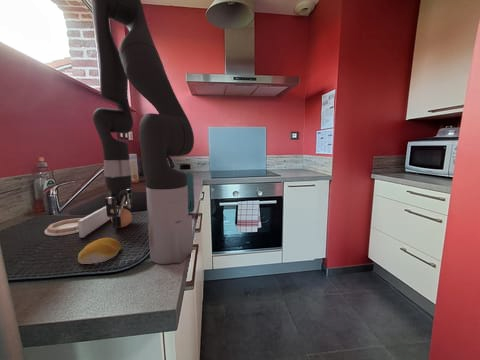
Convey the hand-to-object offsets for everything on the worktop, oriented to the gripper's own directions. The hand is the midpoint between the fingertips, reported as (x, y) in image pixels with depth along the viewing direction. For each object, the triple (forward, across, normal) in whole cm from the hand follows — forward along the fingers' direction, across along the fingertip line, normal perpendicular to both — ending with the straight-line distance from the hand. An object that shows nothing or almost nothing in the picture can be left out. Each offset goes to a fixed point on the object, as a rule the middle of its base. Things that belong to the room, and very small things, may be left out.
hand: (122, 223), depth 71 cm
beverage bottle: (+1, -11, +19) cm, 22 cm away
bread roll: (+2, +20, +3) cm, 20 cm away
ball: (-2, 0, 0) cm, 2 cm away
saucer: (+1, 0, -16) cm, 16 cm away
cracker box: (+1, -87, -32) cm, 93 cm away
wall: (+1, 0, -8) cm, 8 cm away
